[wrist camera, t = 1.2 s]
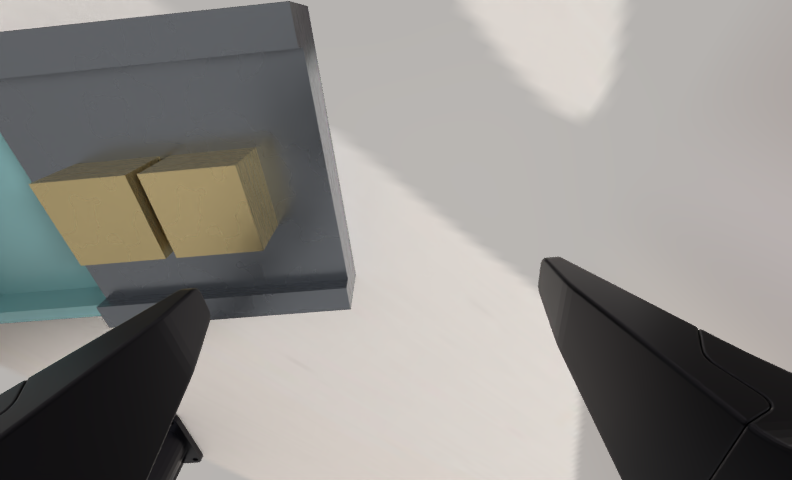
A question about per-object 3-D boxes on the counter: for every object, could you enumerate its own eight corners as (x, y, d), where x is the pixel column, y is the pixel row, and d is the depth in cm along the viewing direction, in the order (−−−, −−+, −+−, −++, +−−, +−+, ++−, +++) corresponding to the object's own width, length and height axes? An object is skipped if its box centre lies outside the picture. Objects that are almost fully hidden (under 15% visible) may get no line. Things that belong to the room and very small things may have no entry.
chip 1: (192, 232, 19) (165, 258, 16) (117, 238, 19) (80, 265, 16) (159, 156, 16) (124, 175, 14) (75, 164, 17) (28, 184, 14)
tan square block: (278, 224, 18) (263, 250, 16) (201, 231, 18) (176, 258, 16) (255, 147, 16) (235, 165, 14) (170, 155, 16) (137, 174, 14)
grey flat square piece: (355, 274, 23) (350, 309, 20) (143, 291, 24) (109, 327, 21) (307, 6, 16) (289, 1, 13) (1, 38, 16) (-82, 40, 13)
